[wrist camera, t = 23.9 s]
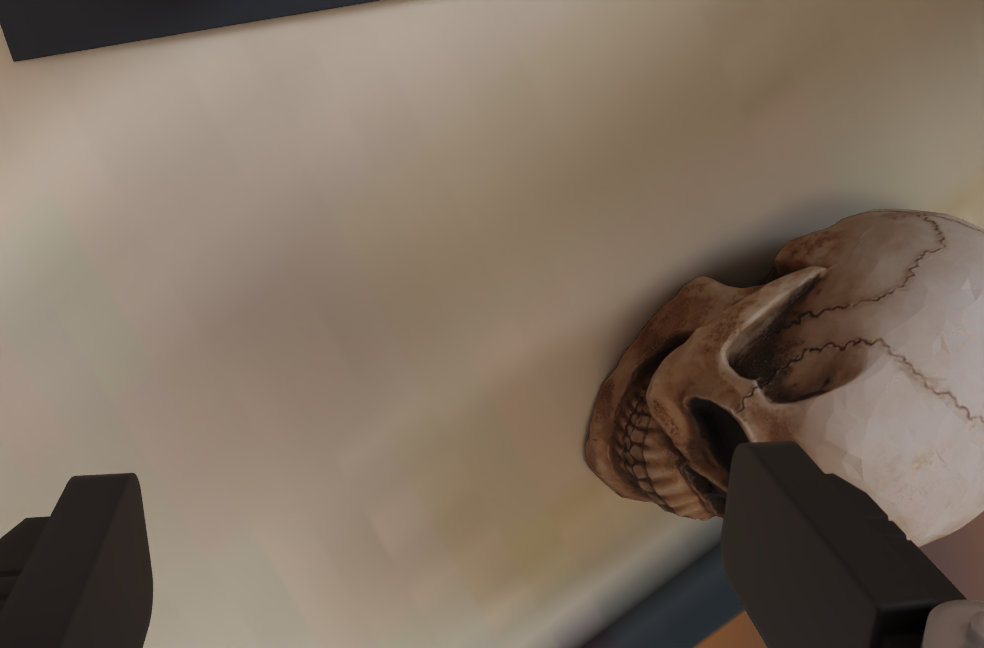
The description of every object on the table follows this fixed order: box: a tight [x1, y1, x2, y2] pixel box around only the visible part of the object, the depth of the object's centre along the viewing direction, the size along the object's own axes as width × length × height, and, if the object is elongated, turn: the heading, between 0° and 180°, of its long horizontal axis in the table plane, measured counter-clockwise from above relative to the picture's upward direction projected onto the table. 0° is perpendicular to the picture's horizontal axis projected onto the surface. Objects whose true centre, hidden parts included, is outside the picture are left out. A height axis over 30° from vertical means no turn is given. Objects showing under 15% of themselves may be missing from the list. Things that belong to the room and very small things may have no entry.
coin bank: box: [585, 209, 984, 547], centre depth 40 cm, size 16×17×13 cm
